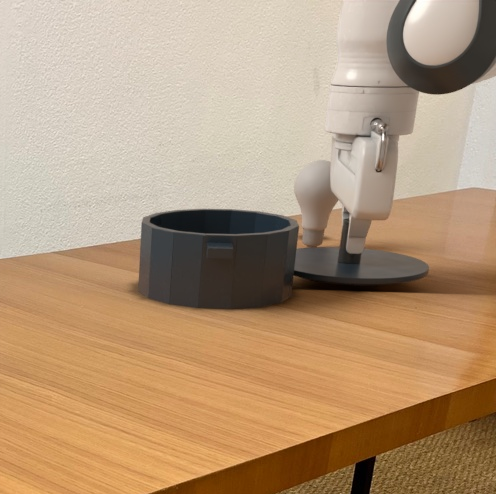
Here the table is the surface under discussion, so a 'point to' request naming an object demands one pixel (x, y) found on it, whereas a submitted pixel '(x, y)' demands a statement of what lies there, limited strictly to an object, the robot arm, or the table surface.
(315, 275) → the pot lid
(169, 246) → the pot
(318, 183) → the lightbulb
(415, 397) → the table surface
